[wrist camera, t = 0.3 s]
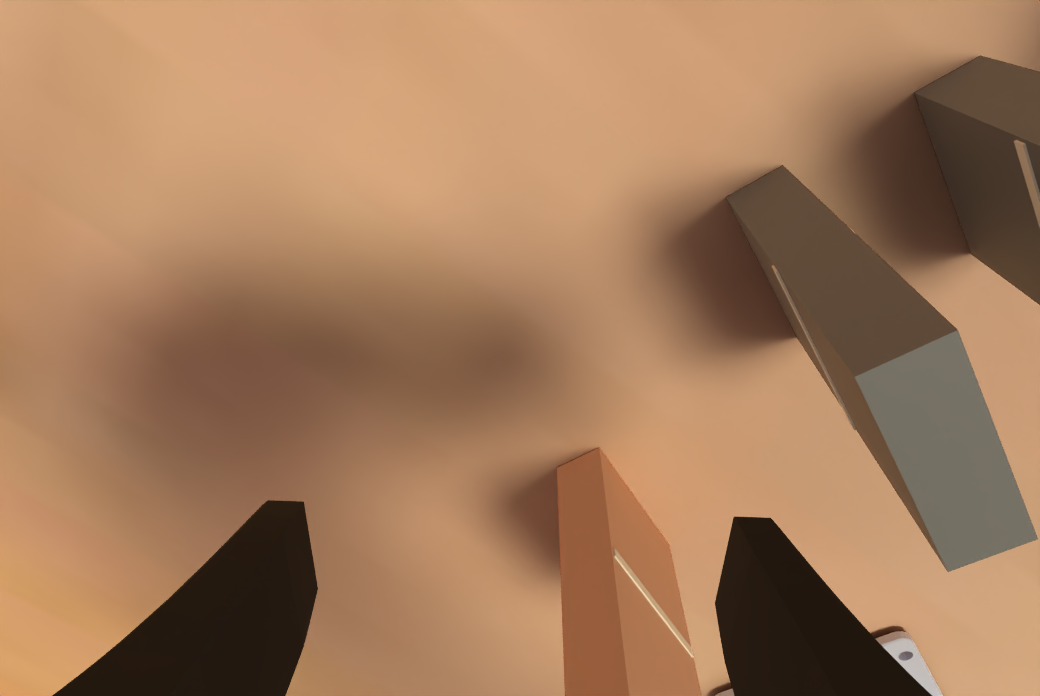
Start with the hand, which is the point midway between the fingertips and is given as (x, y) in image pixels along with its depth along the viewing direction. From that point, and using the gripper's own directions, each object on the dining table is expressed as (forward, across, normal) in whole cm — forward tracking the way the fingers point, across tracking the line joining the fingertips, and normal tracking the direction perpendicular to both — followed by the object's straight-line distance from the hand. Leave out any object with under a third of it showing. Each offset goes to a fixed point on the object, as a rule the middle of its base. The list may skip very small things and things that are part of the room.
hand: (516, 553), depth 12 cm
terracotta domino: (+10, -3, +8) cm, 13 cm away
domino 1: (+10, -7, -2) cm, 12 cm away
